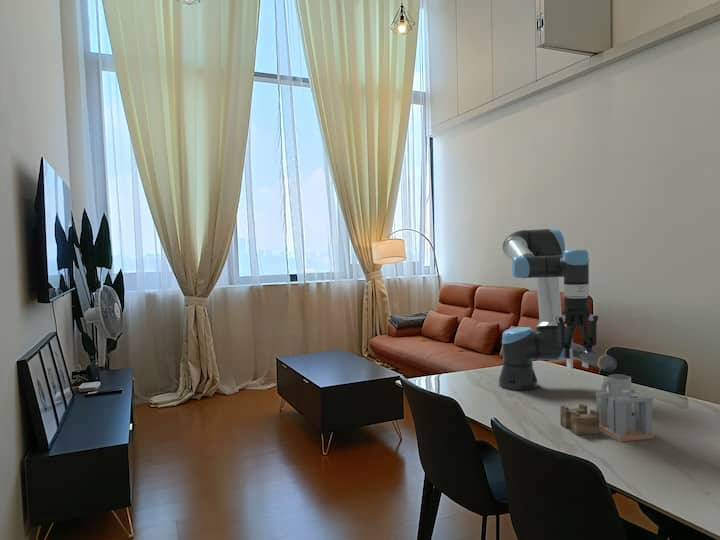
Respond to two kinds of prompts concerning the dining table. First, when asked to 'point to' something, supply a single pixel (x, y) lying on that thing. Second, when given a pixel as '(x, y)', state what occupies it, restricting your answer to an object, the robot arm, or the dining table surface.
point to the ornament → (632, 395)
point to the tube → (594, 358)
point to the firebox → (625, 416)
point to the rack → (580, 419)
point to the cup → (616, 385)
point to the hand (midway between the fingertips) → (577, 367)
